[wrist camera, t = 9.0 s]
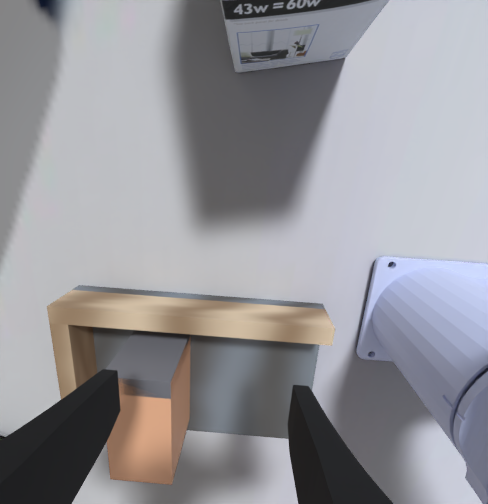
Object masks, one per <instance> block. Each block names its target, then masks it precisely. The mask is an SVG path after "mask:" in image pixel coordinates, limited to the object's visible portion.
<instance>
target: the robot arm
mask: <svg viewBox="0 0 488 504" xmlns="http://www.w3.org/2000/svg"><path fill="white" fill-rule="evenodd" d="M390 262H393V265H392V266H391V267H388V264H389V263H390ZM371 351H373V352H372V353H371V354H368V353H369V352H371ZM356 353H357V355H358V356H359V358H361V359H367V360H380V361H392V362H394V363H395V365H396V366H397V367H398V369H399V370H400V372H401V373H402V374H403V376H404V377H405V378H406V380H407V381H408V383H409V384H410V385H411V387H412V388H413V389H414V391H415V392H416V394H417V395H418V396H419V398H420V399H421V401H422V402H423V403H424V405H425V406H426V407H427V409H428V410H429V412H430V413H431V414H432V416H433V417H434V418H435V420H436V421H437V423H438V424H439V425H440V427H441V428H442V429H443V431H444V432H445V434H446V435H447V436H448V438H449V439H450V441H451V442H452V443H453V445H454V446H455V447H456V449H457V450H458V452H459V453H460V454H461V456H462V457H463V459H464V461H465V462H466V466H467V472H466V476H465V478H466V480H467V481H468V483H469V484H470V485H471V487H472V488H473V490H474V491H475V493H476V494H477V496H478V497H479V499H480V500H481V502H482V503H483V504H488V264H485V263H471V262H457V261H443V260H429V259H416V258H402V257H388V256H381V257H379V258H377V259H376V261H375V264H374V269H373V274H372V279H371V283H370V288H369V293H368V298H367V302H366V307H365V312H364V317H363V322H362V326H361V331H360V336H359V341H358V345H357V350H356ZM120 410H121V409H120V396H119V384H118V371H117V370H107V369H102V370H101V371H100V372H98V373H97V374H95V375H94V376H93V377H91V378H90V379H89V380H87V381H86V382H85V383H83V384H82V385H81V386H79V387H78V388H77V389H75V390H74V391H73V392H71V393H70V394H68V395H67V396H66V397H64V398H63V399H62V400H60V401H59V402H57V403H56V404H55V405H53V406H52V407H50V408H49V409H48V410H46V411H45V412H43V413H42V414H40V415H39V416H37V417H36V418H34V419H33V420H31V421H30V422H28V423H27V424H25V425H24V426H22V427H21V428H19V429H18V430H16V431H15V432H13V433H12V434H10V435H8V436H7V437H5V438H4V439H2V440H0V504H72V502H73V500H74V498H75V496H76V495H77V493H78V491H79V489H80V488H81V486H82V484H83V482H84V481H85V479H86V477H87V475H88V474H89V472H90V470H91V468H92V467H93V465H94V463H95V461H96V460H97V458H98V456H99V454H100V452H101V451H102V449H103V447H104V445H105V443H106V442H107V440H108V438H109V436H110V434H111V431H112V429H113V427H114V425H115V422H116V420H117V418H118V415H119V413H120ZM288 438H289V451H290V458H291V464H292V469H293V475H294V481H295V487H296V492H297V498H298V504H393V503H392V502H391V500H390V499H389V498H388V497H387V496H386V495H385V494H384V493H383V491H382V490H381V489H380V488H379V487H378V486H377V484H376V483H375V482H374V481H373V480H372V478H371V477H370V476H369V475H368V474H367V472H366V471H365V470H364V468H363V467H362V466H361V465H360V463H359V462H358V461H357V459H356V458H355V457H354V455H353V454H352V453H351V451H350V450H349V449H348V447H347V446H346V444H345V443H344V442H343V440H342V439H341V437H340V436H339V434H338V433H337V431H336V430H335V428H334V427H333V425H332V424H331V422H330V421H329V419H328V418H327V416H326V414H325V413H324V411H323V409H322V408H321V406H320V405H319V403H318V401H317V399H316V398H315V396H314V394H313V392H312V391H311V389H310V387H309V386H303V385H293V388H292V396H291V403H290V410H289V417H288Z"/></svg>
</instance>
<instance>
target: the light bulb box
mask: <svg viewBox="0 0 488 504" xmlns="http://www.w3.org/2000/svg"><path fill="white" fill-rule="evenodd" d="M388 1H389V0H220V2H221V7H222V12H223V16H224V21H225V26H226V31H227V36H228V41H229V46H230V50H231V55H232V59H233V64H234V69H235V71H236V72H247V71H255V70H262V69H270V68H277V67H284V66H292V65H299V64H306V63H313V62H321V61H328V60H335V59H341V58H345V57H347V55H348V54H349V53H350V51H351V50H352V49H353V47H354V46H355V45H356V43H357V42H358V41H359V39H360V38H361V37H362V35H363V34H364V33H365V31H366V30H367V29H368V27H369V26H370V25H371V23H372V22H373V21H374V19H375V18H376V17H377V15H378V14H379V13H380V12H381V10H382V9H383V8H384V6H385V5H386V4H387V2H388Z"/></svg>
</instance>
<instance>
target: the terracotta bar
mask: <svg viewBox="0 0 488 504" xmlns="http://www.w3.org/2000/svg"><path fill="white" fill-rule="evenodd" d="M190 340H191V334H179V333H166V332H153V331H141V330H135V331H134V332H133V333H132V335H131V336H130V337H129V339H128V340H127V341H126V343H125V344H124V345H123V347H122V348H121V349H120V351H119V352H118V353H117V354H116V356H115V357H114V358H113V360H112V361H111V362H110V364H109V365H108V366H107V368H106V369H107V370H117V371H118V384H119V396H120V409H121V410H120V413H119V415H118V418H117V420H116V422H115V425H114V427H113V429H112V431H111V434H110V436H109V438H108V440H107V448H108V458H109V468H110V479H114V480H125V481H136V482H147V483H158V484H170V485H172V483H173V479H174V475H175V471H176V467H177V464H178V460H179V456H180V452H181V449H182V445H183V441H184V437H185V434H186V430H187V426H188V422H189V418H190Z"/></svg>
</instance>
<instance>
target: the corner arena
mask: <svg viewBox="0 0 488 504" xmlns="http://www.w3.org/2000/svg"><path fill="white" fill-rule="evenodd" d="M47 310H48V317H49V323H50V330H51V336H52V343H53V349H54V356H55V363H56V369H57V376H58V382H59V389H60V395H61V400H62V399H63V398H64V397H66V396H67V395H68V394H70V393H71V392H73V391H74V390H75V389H77V388H78V387H79V386H81V385H82V384H83V383H85V382H86V381H87V380H89V379H90V378H91V377H93V376H94V375H95V374H97V373H98V372H100V371H101V370H102V369H106V368H107V366H108V365H109V364H110V362H111V361H112V360H113V358H114V357H115V356H116V354H117V353H118V352H119V351H120V349H121V348H122V347H123V345H124V344H125V343H126V341H127V340H128V339H129V337H130V336H131V335H132V333H133V332H134V331H135V330H141V331H153V332H166V333H179V334H191V340H190V418H189V422H188V426H187V430H193V431H204V432H216V433H228V434H239V435H251V436H263V437H275V438H286V439H289V438H288V417H289V410H290V403H291V396H292V388H293V385H303V386H309V387H310V389H311V391H312V386H313V380H314V374H315V368H316V362H317V356H318V350H319V345H331V346H332V343H333V337H334V332H335V328H334V326H333V324H332V322H331V320H330V318H329V316H328V314H327V312H326V310H325V308H324V306H323V304H317V303H303V302H290V301H277V300H264V299H251V298H237V297H224V296H211V295H198V294H185V293H172V292H158V291H145V290H132V289H119V288H106V287H93V286H78V287H76V288H74V289H73V290H71V291H70V292H68V293H67V294H65V295H64V296H62V297H61V298H59V299H58V300H56V301H54V302H53V303H51V304H50V305H48V306H47Z"/></svg>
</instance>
